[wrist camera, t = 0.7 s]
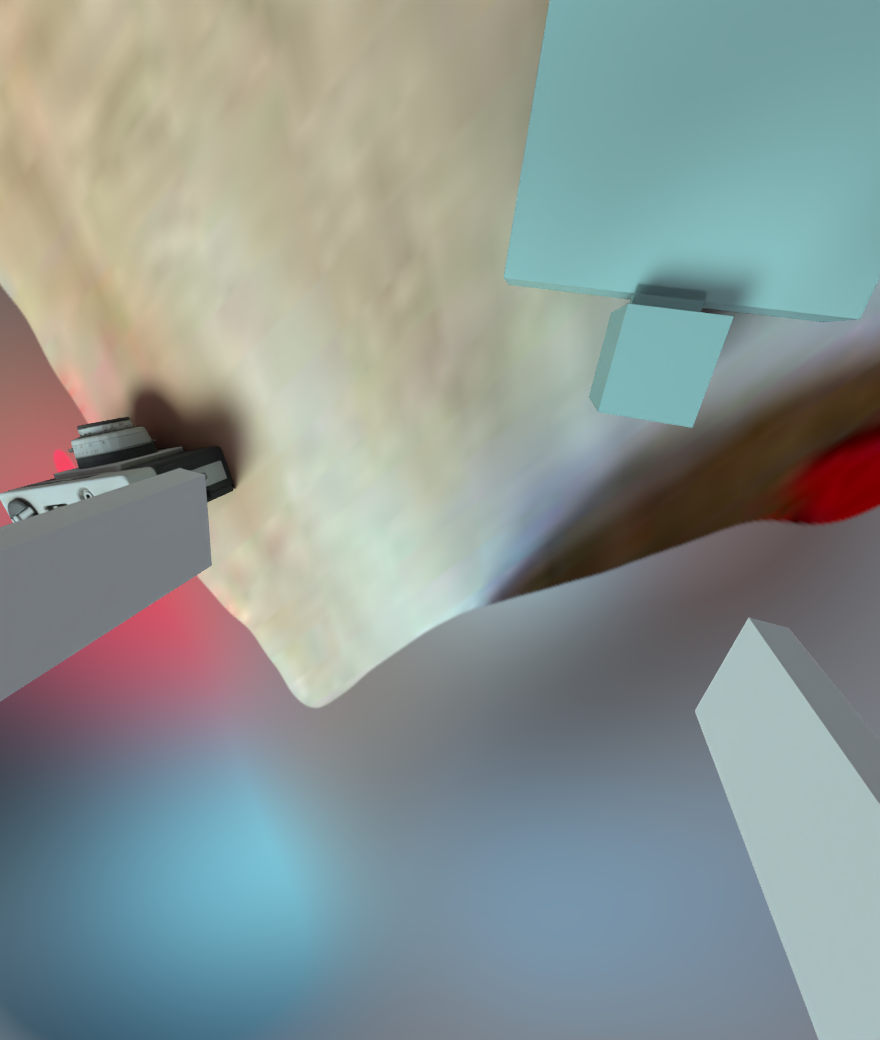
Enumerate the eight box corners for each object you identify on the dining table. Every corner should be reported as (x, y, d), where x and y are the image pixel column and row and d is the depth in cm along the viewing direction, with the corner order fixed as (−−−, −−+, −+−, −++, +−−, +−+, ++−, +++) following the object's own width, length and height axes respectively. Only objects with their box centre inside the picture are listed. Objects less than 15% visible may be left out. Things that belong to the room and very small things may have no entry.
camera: (206, 402, 37) (94, 421, 28) (238, 491, 40) (145, 535, 31) (91, 425, 41) (-39, 447, 32) (127, 504, 44) (17, 546, 35)
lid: (604, -260, 16) (628, -565, 11) (1101, -311, 13) (1470, -754, 8) (493, 381, 26) (476, 391, 20) (771, 426, 23) (837, 451, 18)
